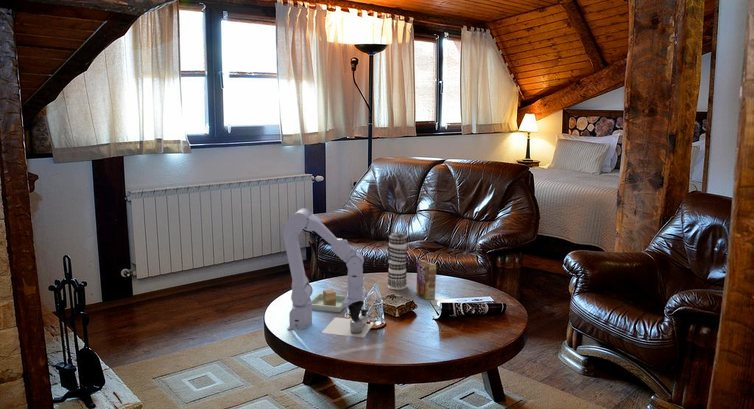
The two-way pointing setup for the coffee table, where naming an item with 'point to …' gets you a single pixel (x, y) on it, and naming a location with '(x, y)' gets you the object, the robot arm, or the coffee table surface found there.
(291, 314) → the robot arm
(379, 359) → the coffee table surface
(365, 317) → the crank
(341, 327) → the board
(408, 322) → the coffee table surface
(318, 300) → the tray
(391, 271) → the patterned cylinder
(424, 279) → the candy box
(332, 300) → the block
